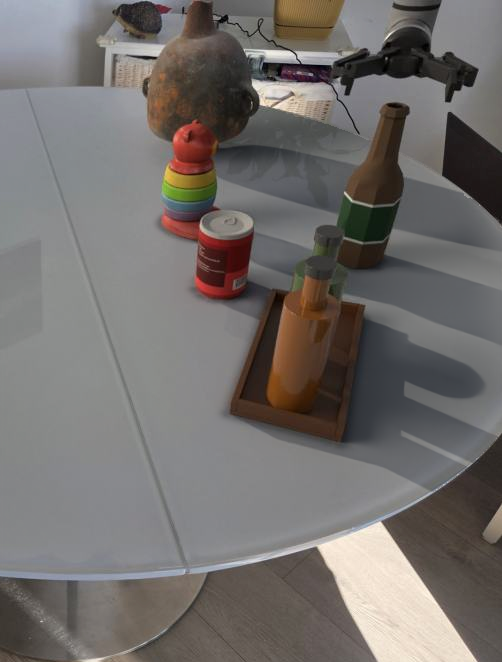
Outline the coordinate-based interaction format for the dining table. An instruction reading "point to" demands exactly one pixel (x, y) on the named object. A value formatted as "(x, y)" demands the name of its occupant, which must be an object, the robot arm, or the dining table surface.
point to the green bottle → (327, 245)
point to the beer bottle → (373, 194)
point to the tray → (335, 383)
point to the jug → (200, 80)
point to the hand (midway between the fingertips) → (398, 89)
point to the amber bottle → (304, 339)
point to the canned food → (223, 253)
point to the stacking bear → (190, 180)
